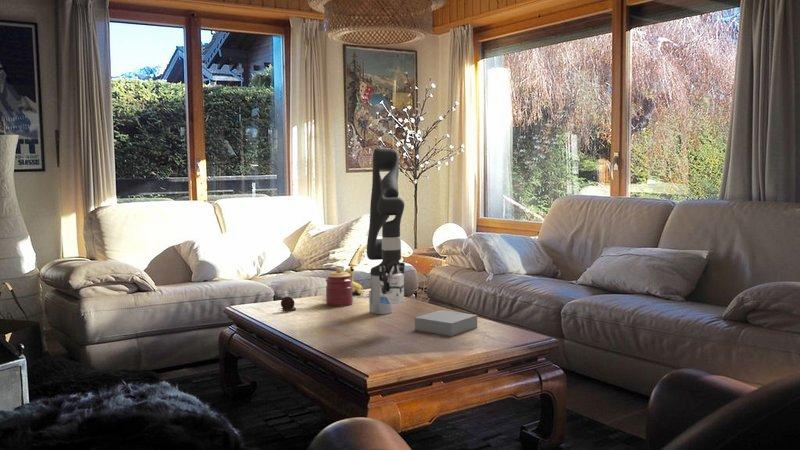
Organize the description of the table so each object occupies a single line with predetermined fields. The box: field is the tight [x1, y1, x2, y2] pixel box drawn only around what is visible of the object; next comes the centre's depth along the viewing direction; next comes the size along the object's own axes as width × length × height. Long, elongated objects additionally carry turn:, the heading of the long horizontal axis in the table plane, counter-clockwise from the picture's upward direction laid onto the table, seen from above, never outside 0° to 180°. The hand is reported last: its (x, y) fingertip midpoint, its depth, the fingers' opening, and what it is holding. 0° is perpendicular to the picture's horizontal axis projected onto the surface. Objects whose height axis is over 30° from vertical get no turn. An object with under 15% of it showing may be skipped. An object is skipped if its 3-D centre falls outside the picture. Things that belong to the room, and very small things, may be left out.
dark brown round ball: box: [280, 295, 297, 312], centre depth 322 cm, size 8×8×7 cm
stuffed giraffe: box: [344, 265, 369, 299], centre depth 358 cm, size 16×18×16 cm
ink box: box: [380, 272, 405, 306], centre depth 276 cm, size 8×5×12 cm, turn 68°
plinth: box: [414, 309, 478, 337], centre depth 281 cm, size 18×18×5 cm
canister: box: [325, 267, 354, 307], centre depth 335 cm, size 13×13×18 cm
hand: (391, 290), depth 276 cm, fingers closed on ink box, 5 cm apart
